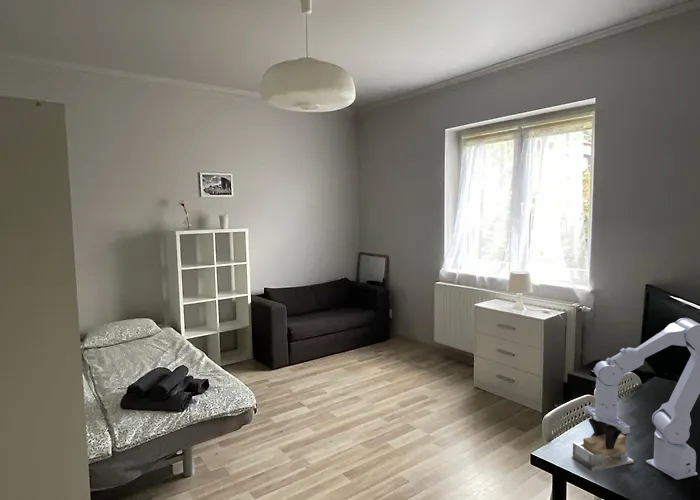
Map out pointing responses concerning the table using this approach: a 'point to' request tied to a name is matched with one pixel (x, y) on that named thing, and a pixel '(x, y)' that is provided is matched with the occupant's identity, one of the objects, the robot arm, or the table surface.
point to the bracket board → (598, 458)
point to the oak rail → (604, 445)
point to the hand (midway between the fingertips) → (605, 445)
